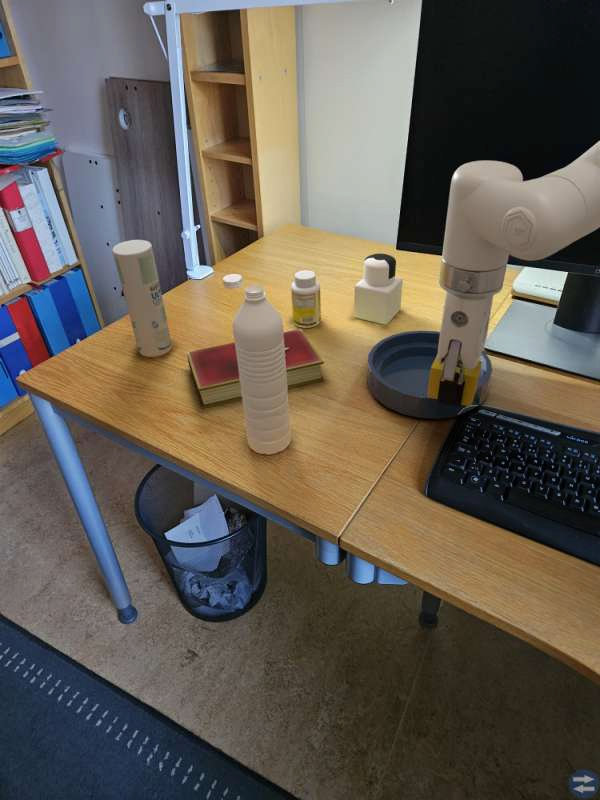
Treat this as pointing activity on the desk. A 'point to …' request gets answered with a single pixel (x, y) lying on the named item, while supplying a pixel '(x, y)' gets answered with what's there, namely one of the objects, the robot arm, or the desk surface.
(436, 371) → the sponge
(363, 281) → the blocky head figurine
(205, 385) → the hardcover book
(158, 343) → the spray can
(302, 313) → the supplement bottle
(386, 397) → the bowl
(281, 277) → the desk surface
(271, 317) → the water bottle
